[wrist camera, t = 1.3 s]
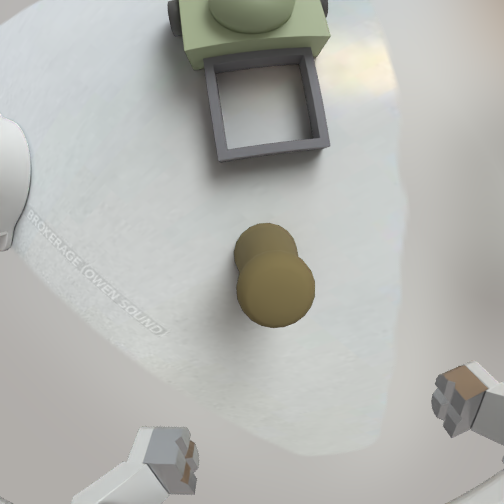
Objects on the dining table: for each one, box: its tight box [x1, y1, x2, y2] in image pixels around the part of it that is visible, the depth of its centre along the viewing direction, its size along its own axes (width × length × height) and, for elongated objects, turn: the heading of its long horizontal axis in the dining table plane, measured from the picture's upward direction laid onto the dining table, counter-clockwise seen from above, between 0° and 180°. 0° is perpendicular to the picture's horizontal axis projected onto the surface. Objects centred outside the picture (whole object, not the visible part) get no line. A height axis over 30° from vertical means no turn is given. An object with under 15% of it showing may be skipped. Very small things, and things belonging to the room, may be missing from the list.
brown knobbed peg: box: [234, 223, 315, 328], centre depth 23 cm, size 6×6×11 cm
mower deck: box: [168, 0, 331, 162], centre depth 21 cm, size 14×18×6 cm
